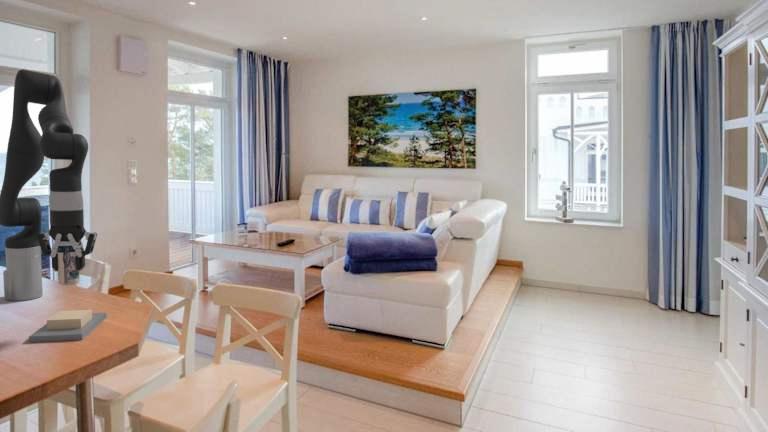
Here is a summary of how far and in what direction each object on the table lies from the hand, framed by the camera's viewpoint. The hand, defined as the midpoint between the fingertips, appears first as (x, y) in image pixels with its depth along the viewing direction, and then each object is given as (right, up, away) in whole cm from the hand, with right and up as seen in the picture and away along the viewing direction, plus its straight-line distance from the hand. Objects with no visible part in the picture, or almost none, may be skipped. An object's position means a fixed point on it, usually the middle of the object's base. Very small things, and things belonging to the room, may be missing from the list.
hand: (68, 269), depth 125 cm
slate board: (-1, -16, +2) cm, 17 cm away
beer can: (0, -4, 0) cm, 4 cm away
